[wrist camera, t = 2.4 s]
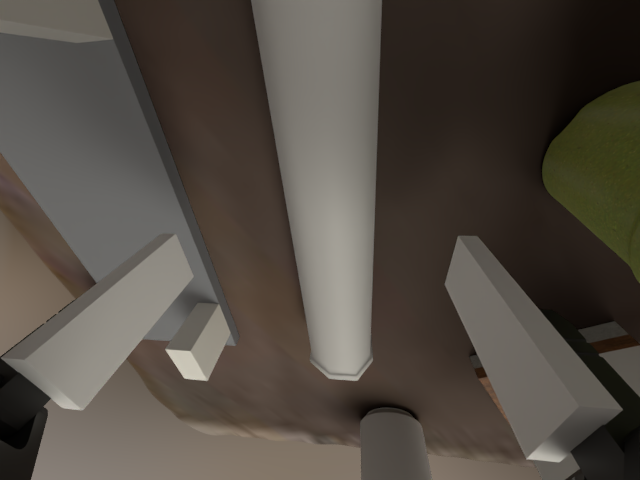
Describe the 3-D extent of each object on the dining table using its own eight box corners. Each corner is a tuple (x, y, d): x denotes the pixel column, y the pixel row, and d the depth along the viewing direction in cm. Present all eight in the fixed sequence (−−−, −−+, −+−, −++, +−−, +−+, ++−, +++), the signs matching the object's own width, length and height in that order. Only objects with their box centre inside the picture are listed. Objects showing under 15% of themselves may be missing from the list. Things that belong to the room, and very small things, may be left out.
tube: (181, -148, 7) (299, 366, 20) (370, -282, 5) (363, 393, 18) (284, -67, 11) (326, 317, 24) (410, -119, 9) (380, 334, 22)
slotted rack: (54, -160, 9) (-237, -393, 5) (239, 337, 25) (214, 393, 21) (-162, -112, 11) (-547, -254, 6) (144, 330, 27) (101, 382, 22)
